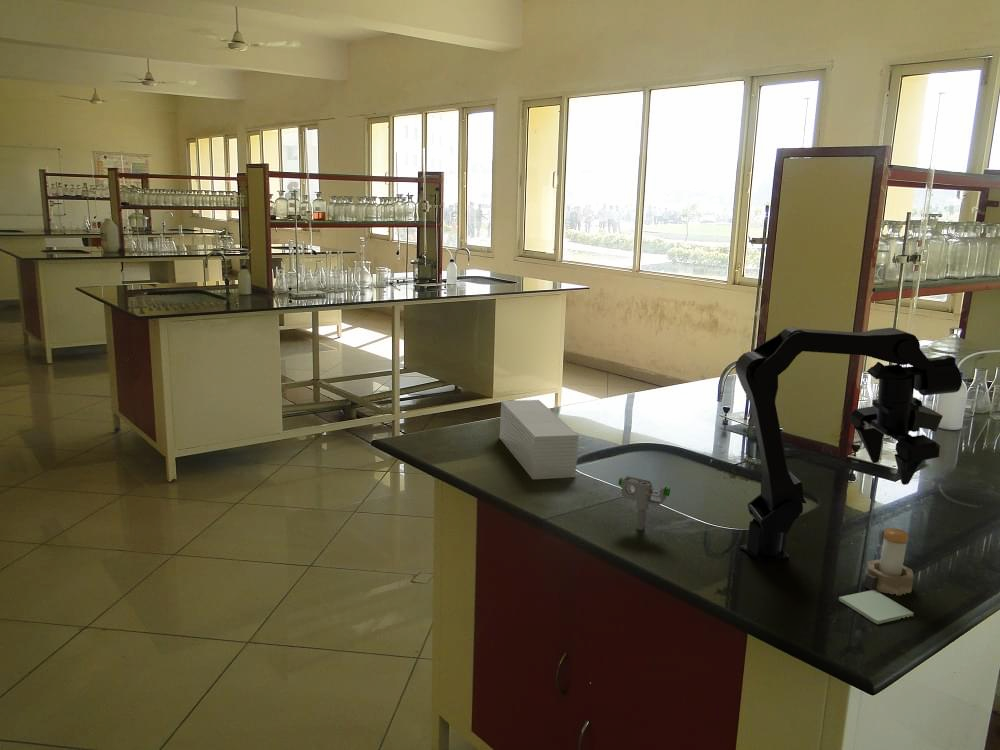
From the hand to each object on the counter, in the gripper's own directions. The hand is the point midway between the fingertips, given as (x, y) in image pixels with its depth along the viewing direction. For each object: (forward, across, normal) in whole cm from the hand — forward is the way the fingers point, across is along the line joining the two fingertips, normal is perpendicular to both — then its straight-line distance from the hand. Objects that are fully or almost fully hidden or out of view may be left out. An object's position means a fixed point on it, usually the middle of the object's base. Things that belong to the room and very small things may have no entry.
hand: (889, 473), depth 147 cm
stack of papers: (+13, +57, +59) cm, 83 cm away
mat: (+12, -21, +16) cm, 29 cm away
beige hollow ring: (+14, -14, +9) cm, 21 cm away
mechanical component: (+10, +12, +46) cm, 48 cm away
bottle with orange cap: (+14, -14, +9) cm, 21 cm away
